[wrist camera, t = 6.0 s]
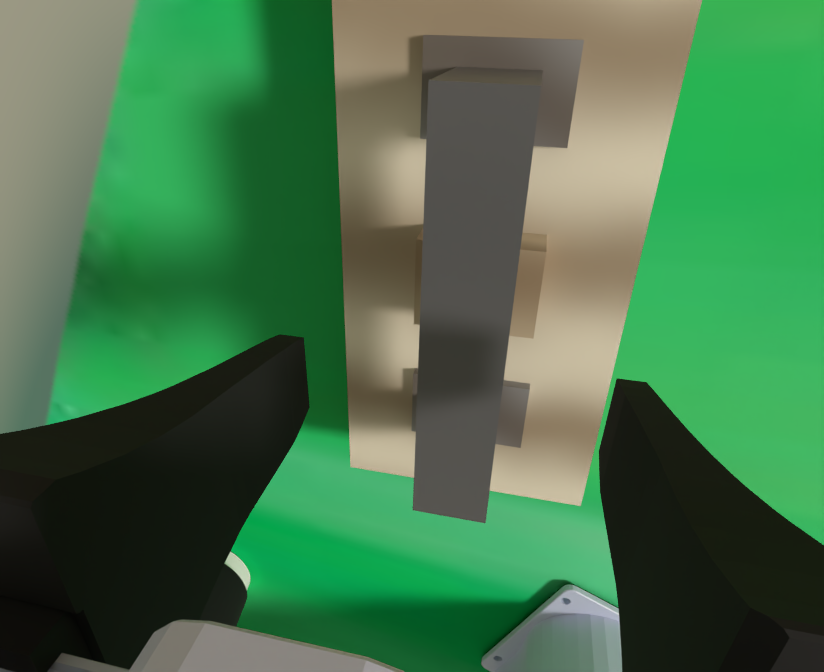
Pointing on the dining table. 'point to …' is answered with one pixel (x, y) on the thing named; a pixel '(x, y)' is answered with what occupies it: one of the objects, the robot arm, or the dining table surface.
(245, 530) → the dining table surface
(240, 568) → the dixie cup
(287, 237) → the dining table surface
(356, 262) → the display stand
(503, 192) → the grey long bar
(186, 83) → the dining table surface
